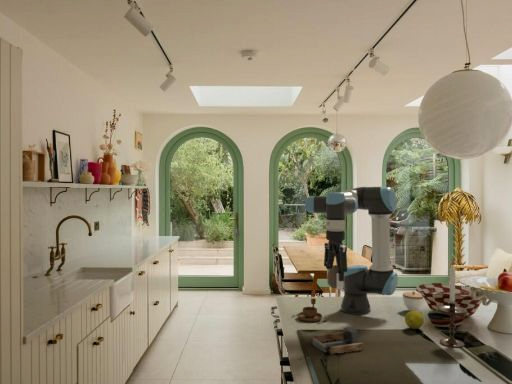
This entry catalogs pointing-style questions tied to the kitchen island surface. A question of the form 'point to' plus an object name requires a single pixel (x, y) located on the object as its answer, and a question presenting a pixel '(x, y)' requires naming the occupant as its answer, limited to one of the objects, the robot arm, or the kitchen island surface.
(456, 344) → the candlestick
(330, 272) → the vase
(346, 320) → the kitchen island surface
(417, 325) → the lemon
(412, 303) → the lidded jar
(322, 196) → the robot arm
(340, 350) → the channel
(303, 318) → the place setting
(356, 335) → the lopsided grey dumbbell
